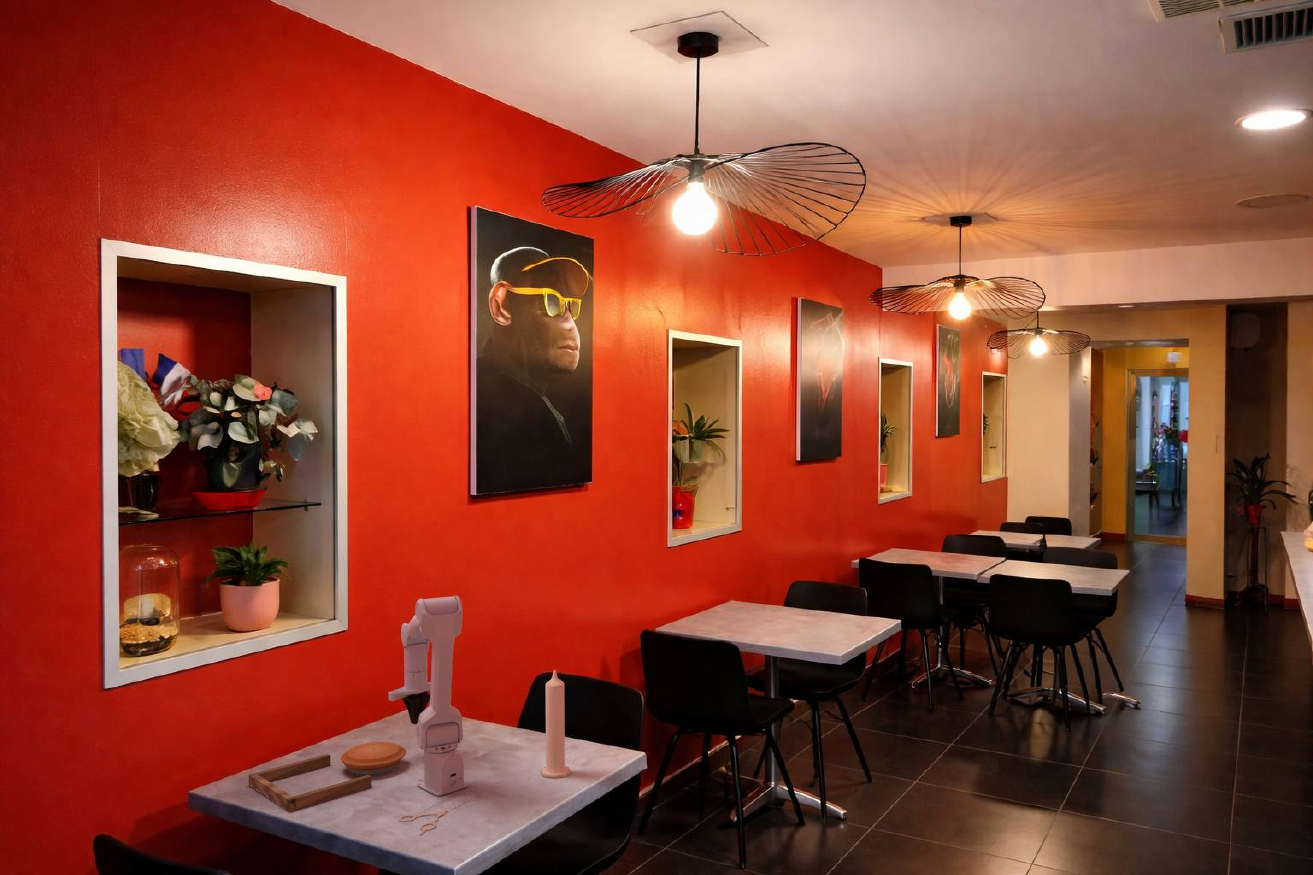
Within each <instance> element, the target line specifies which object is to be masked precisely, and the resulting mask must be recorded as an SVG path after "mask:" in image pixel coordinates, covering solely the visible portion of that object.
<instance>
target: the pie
mask: <svg viewBox="0 0 1313 875" xmlns="http://www.w3.org/2000/svg"><path fill="white" fill-rule="evenodd" d="M406 755H407V749H406V748H405V747H403V746H401V745H399V744H396V743H394V742H388V741H373V742H367V743H362V744H358V745H356V746H353V747H352V748H350V749H348V750H346V751H345V752H343V754H341V755H340V761H341V763H342V764H343V765H345V767H346V768H347V770H348V772H349V773H350V774H352V775H354V776H355V777H356V776H357V777H362V776H366V775H370V776H371V777H377V776H382V775H386V774H389V773H392V772H393V771H395V769H397V767H398V766H399V765H400V763H401V761H402V759H403V758H404V757H405V756H406Z"/></svg>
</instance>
